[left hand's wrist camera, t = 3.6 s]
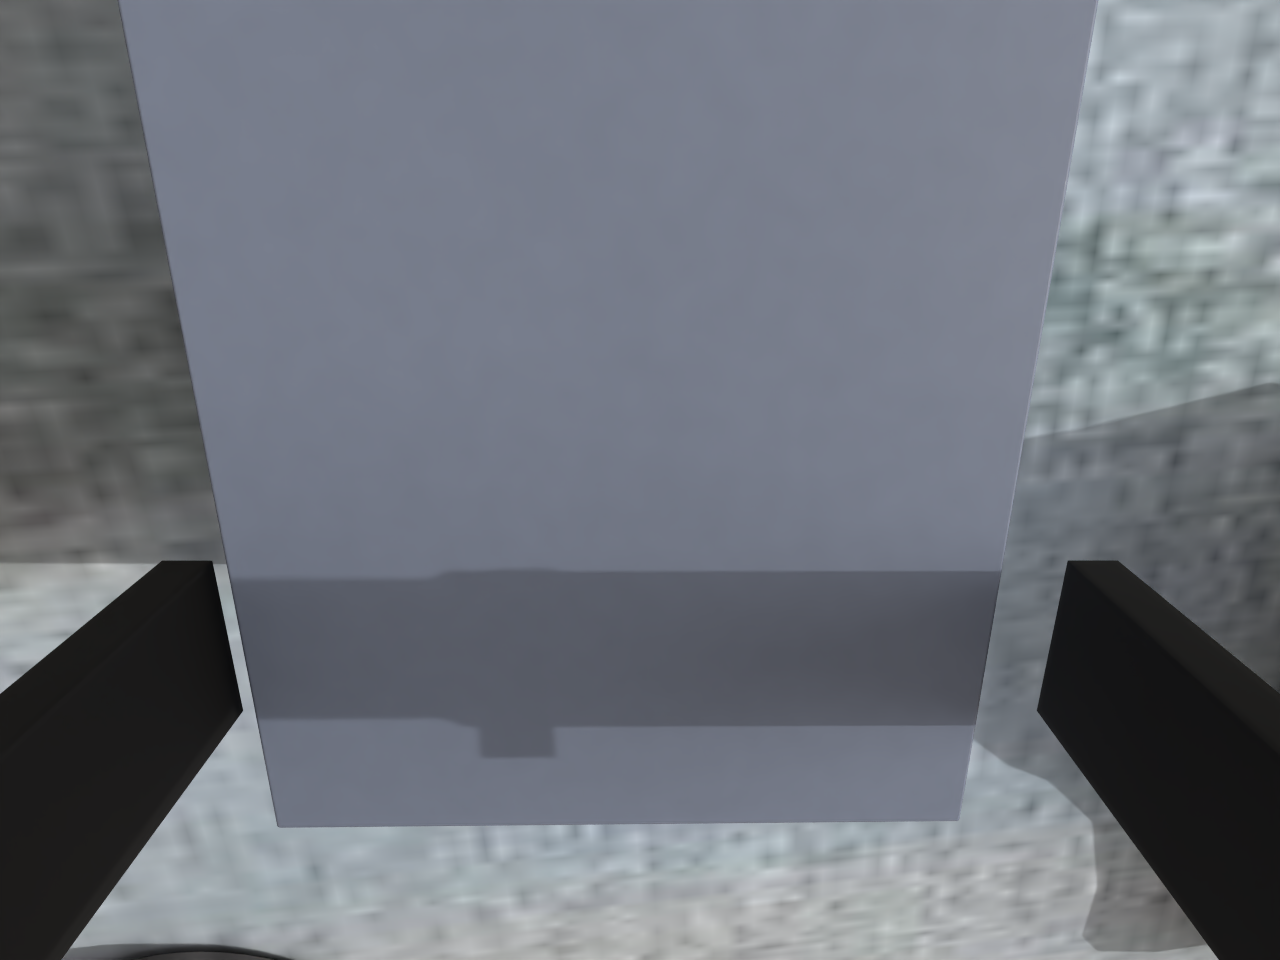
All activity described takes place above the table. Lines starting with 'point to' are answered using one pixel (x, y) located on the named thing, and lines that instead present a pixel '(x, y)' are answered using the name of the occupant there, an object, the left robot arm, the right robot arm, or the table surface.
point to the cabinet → (612, 387)
